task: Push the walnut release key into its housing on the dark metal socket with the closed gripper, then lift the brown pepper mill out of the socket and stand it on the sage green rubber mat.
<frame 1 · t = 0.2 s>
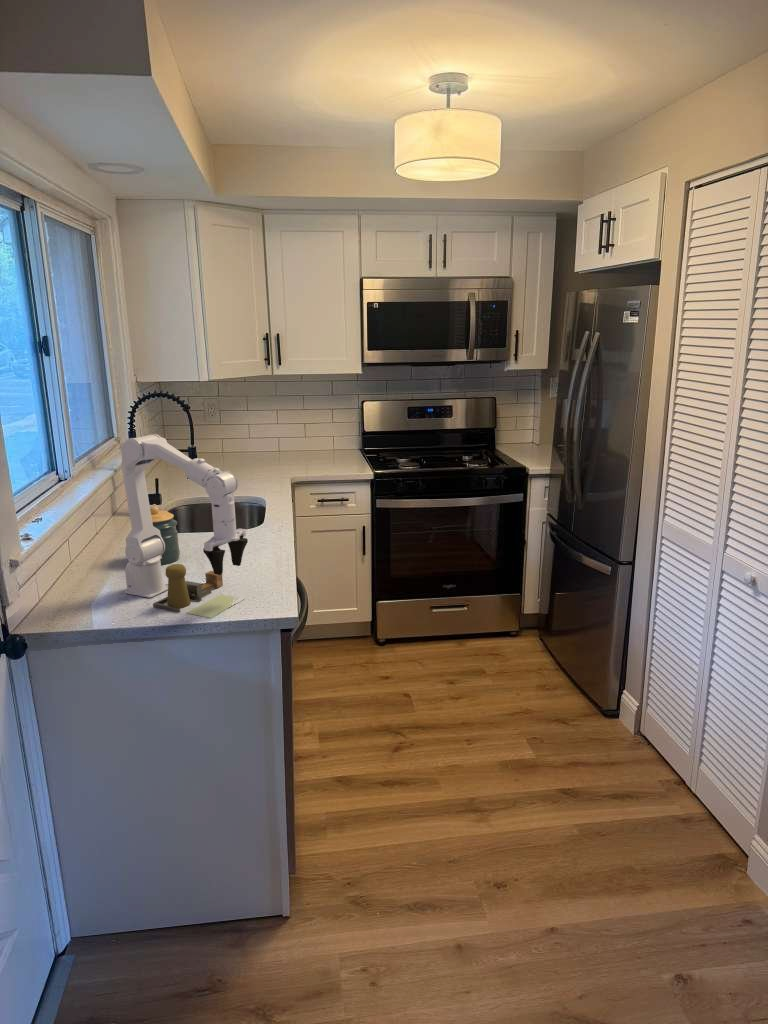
hand: (227, 569, 177), 10 cm above the table, tool pointing down, fingers open, 7 cm apart
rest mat: (216, 606, 179), on the table
socket: (178, 604, 181), on the table
canister: (159, 560, 218), on the table
brown pepper mill: (179, 605, 181), resting in socket
release key: (207, 582, 191), point 2 cm above the table, slide at 0.0 cm
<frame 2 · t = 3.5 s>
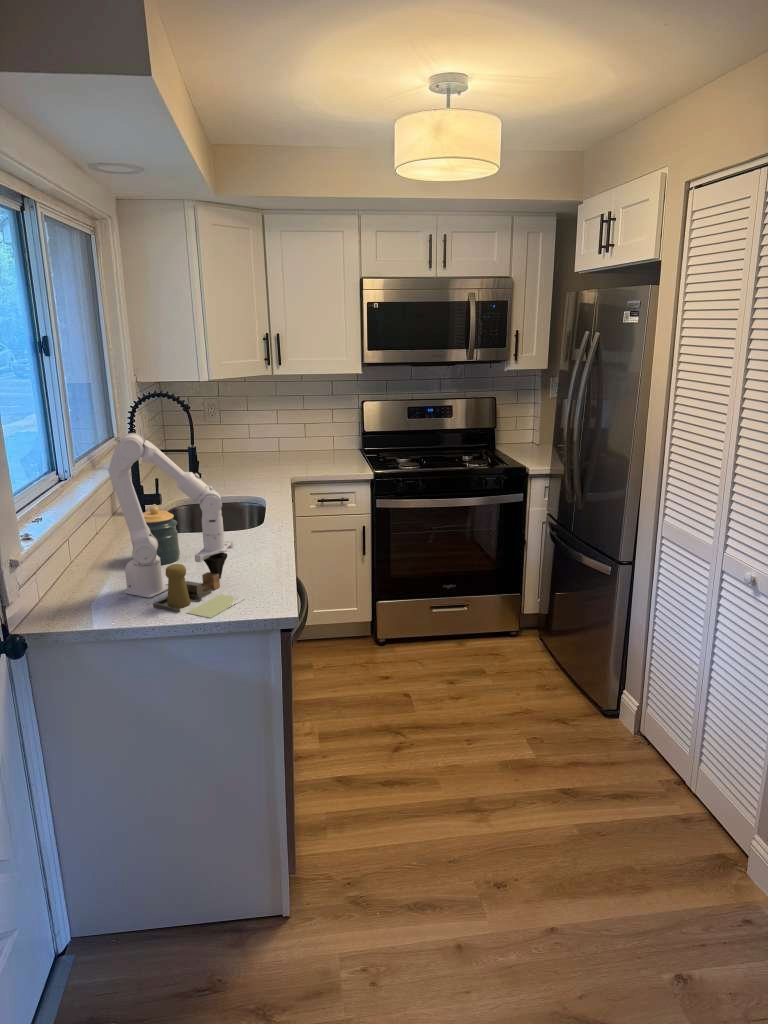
hand: (216, 578, 194), 2 cm above the table, tool pointing down, fingers closed
release key: (204, 584, 189), point 2 cm above the table, slide at 1.3 cm, touching gripper
everything else where it was.
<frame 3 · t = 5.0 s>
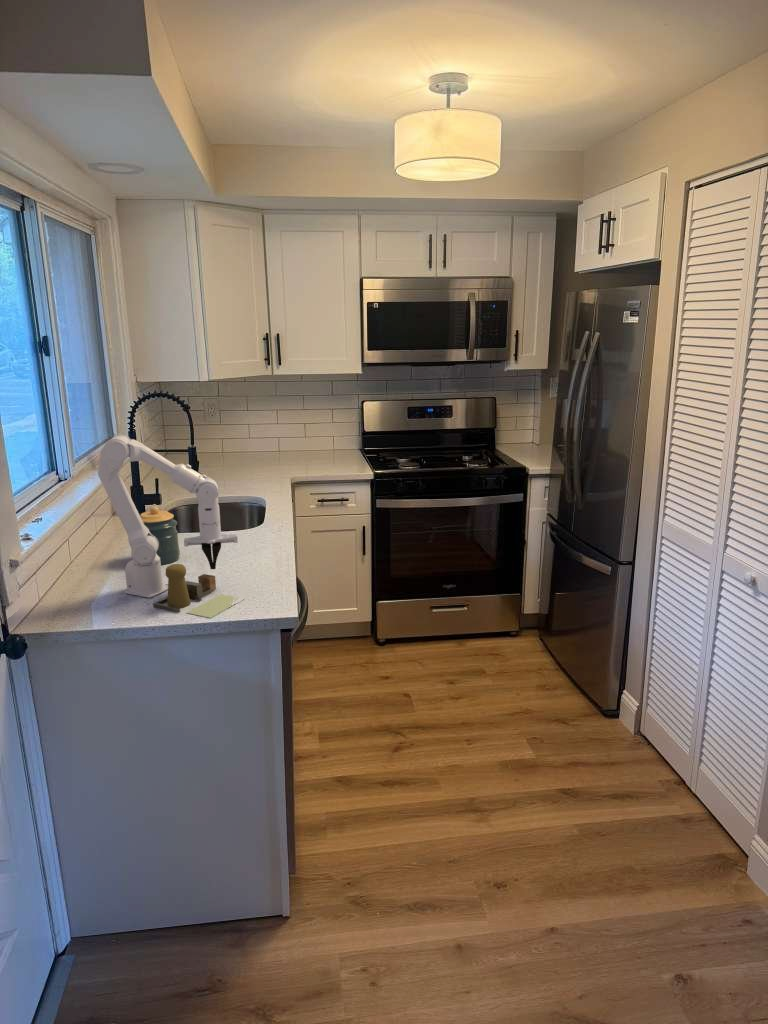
hand: (213, 568, 192), 5 cm above the table, tool pointing down, fingers closed
release key: (200, 586, 188), point 2 cm above the table, slide at 3.0 cm
everything else where it was.
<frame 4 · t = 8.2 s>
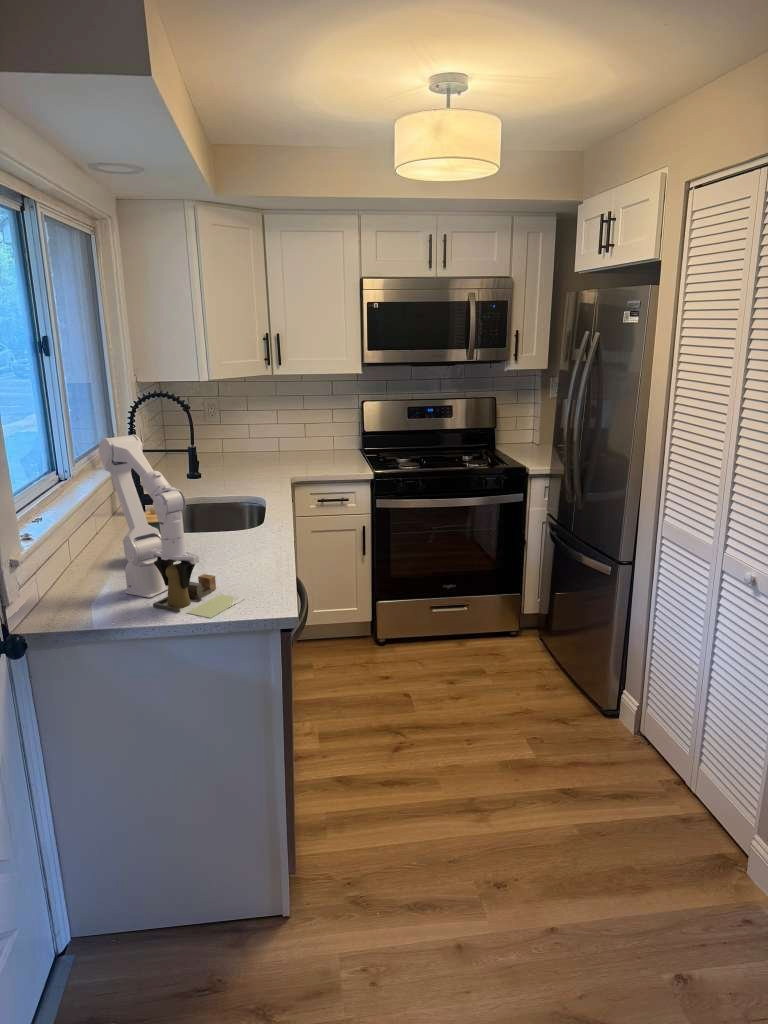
hand: (177, 586, 179), 5 cm above the table, tool pointing down, fingers closed on brown pepper mill, 5 cm apart
brown pepper mill: (179, 605, 181), resting in socket, touching gripper
everything else where it was.
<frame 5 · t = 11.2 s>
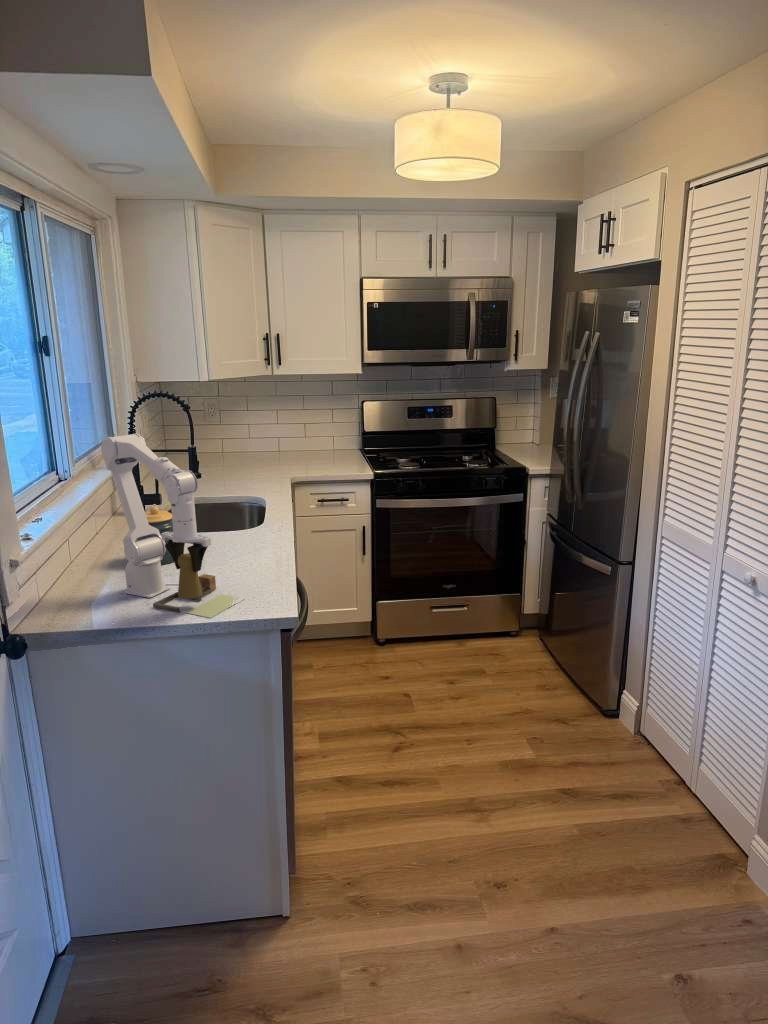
hand: (188, 569, 176), 10 cm above the table, tool pointing down, fingers closed on brown pepper mill, 5 cm apart
brown pepper mill: (189, 595, 177), point 3 cm above the table, touching gripper
everything else where it was.
when the fingers open (7 cm above the table, at t = 14.6 s): brown pepper mill stays where it is, resting on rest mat.
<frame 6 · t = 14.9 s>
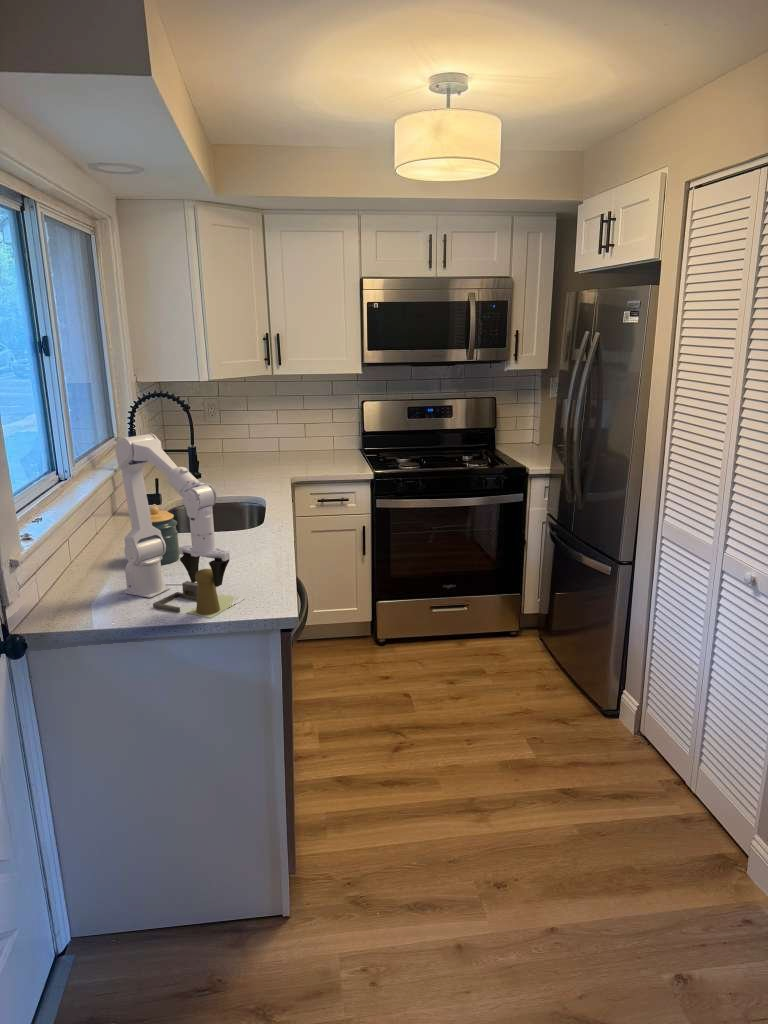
hand: (206, 583, 175), 7 cm above the table, tool pointing down, fingers open, 7 cm apart
brown pepper mill: (208, 611, 176), resting on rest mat
everything else where it was.
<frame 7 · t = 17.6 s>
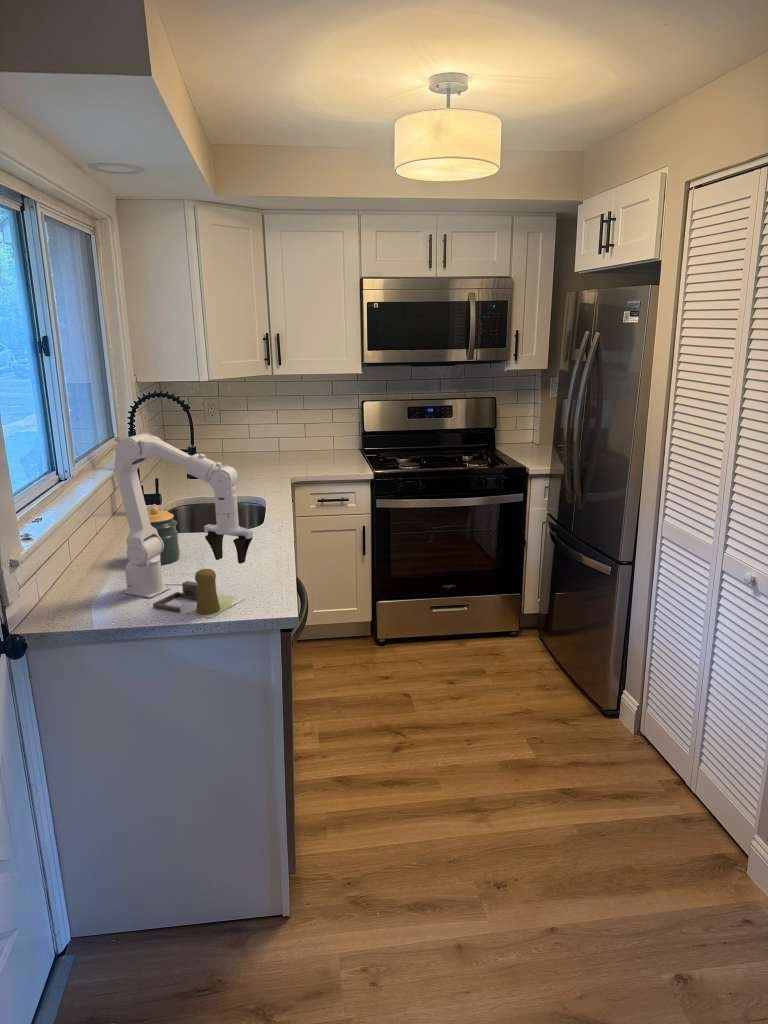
hand: (230, 560, 183), 10 cm above the table, tool pointing down, fingers open, 7 cm apart
nothing on the table moved.
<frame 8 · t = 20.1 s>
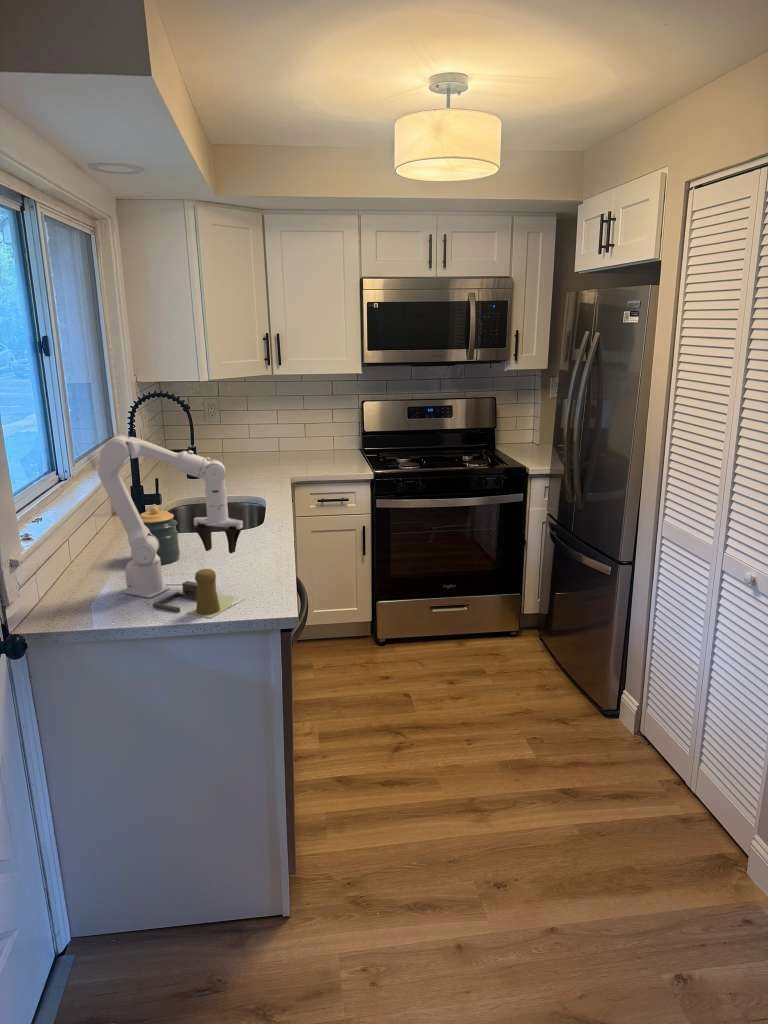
hand: (220, 551, 191), 10 cm above the table, tool pointing down, fingers open, 7 cm apart
nothing on the table moved.
at the end: release key slide at 3.0 cm; brown pepper mill inside the target area on the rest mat (2.5 cm from its centre), point 0.0 cm above the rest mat's base; brown pepper mill tilted 0° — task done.
